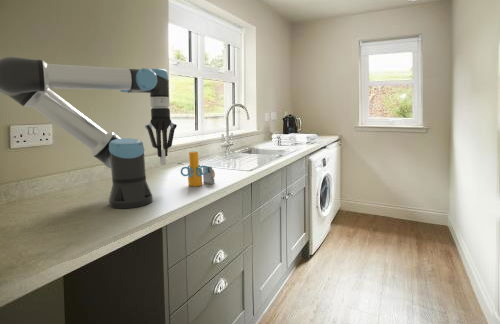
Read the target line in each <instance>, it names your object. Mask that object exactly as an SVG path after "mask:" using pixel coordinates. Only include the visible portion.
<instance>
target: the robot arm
mask: <svg viewBox="0 0 500 324" xmlns="http://www.w3.org/2000/svg"><path fill="white" fill-rule="evenodd" d="M169 82H170V81H169V73H168V70H166V69H164V68H151V69H150V68H140V69H138V68H127V67H126V68H124V67H109V66H107V67H106V66H91V65H90V66H89V65H75V64H74V65H72V64H56V63H55V64H54V63H47V62H46V61H44V60H43V59H34V58H33V59H32V58H24V57H19V56H5V57H2V58H0V93H2V94H3V95H5V96H8V97H9V98H10V99H12V100H13V101H15V102H16V103H18V104H19V105H21V106H22V107H23V108H28V107H31V108H33V109H35V110H36V111H37V113H39V114H41V115H43V116H44V117H45V118H47V119H49V121H51V122H52V123H54V124H55V125H57V126H58V127H59V128H61V129H62V130H63V131H65V132H66V133H68V134H69V135H71V136H72V137H73V138H75V139H76V140H77V141H79V142H80V143H82V145H84V146H86V147H88V148H89V150H90V151H91V156H93V157H94V158H96V159H98V161H100V162H101V163H102V164H104V166H106V167H107V168H109V169H111V178H112V179H111V181H112V186H111V189H110V194H109V198H108V203H109V204H108V205H109V207H110V208H113V209H130V208H131V209H132V208H138V207H143V206H147V205H150V204H151V203H152V202H153V200H154V199H153V194H152V191H151V189H150V186H149V185H148V181H147V175H146V174H147V173H146V163H145V162H146V161H145V147H144V142H143V141H142V140H140V139H138V138H130V137H129V138H126V137H124V138H123V137H122V138H121V137H120V136H119V135H118V134H116V133H115V132H113V131H106V130H104V129H103V128H102V127H101V126H99V125H98V124H96V123H95V122H94V121H93V120H91V119H90V118H89V117H88V116H86V115H85V114H84V113H83V112H81V111H79V110H78V109H77V108H75V107H74V105H72V104H71V103H69V102H68V101H66V100H65V99H64V98H63V97H61V96H60V95H58V94H57V93H56V92H55V91H53V90H52V89H62V90H63V89H66V90H67V89H69V90H106V91H108V90H109V91H110V90H111V91H120V92H121V93H127V94H130V93H131V94H132V93H133V94H136V93H137V94H138V93H139V94H140V93H141V94H143V93H146V94H148V93H149V96H150V97H149V98H150V99H149V100H150V107H151V109H150V114H151V115H150V116H151V117H150V118H151V119H150V121H149V123H148V124H146V125H144V128H145V129H146V131H147V132H148V135H149V140H150V143H151V146H152V148H154V149H156V150H157V157H158V158H159V164H160V165H162V166H164V165H166V157H168V149H169V148H171V147H172V146H173V140H174V135H175V130H176V129H177V127H178V126H177V124H174V123H173V122H172V119H171V113H170V112H171V111H170V110H171V109H170V108H169V107H170V89H169V85H170V83H169ZM153 128H154V129H155V135H156V138H155V135H154V131H153ZM168 129H169V131H168ZM168 132H169V133H168Z"/></svg>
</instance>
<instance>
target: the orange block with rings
mask: <svg viewBox="0 0 500 324" xmlns="http://www.w3.org/2000/svg"><path fill="white" fill-rule="evenodd" d="M188 158H189V159H188V160H189V164H188V165H187V166H183V167H181V169H180V175H182V176H183V177H187V181H188V186H189V187H200V186H202V185H203V175H205V174H207V173H208V167H207V166H205V165H206V164H202V165H200V164H199V163H200V162H199V151H197V150H194V151H192V150H191V151H189V152H188ZM203 167H205V168H206V169H207V171H206V172H205V173H203ZM185 169H186V170H187V173H186V174H185V173H183V170H185Z"/></svg>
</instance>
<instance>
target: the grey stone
mask: <svg viewBox="0 0 500 324" xmlns="http://www.w3.org/2000/svg"><path fill="white" fill-rule="evenodd" d="M204 165H205V166H207V167H208V173H207V174H205V175H202V181H203V183H205V184H208V185H210V186H211V185H214V184H215V176H216V173H215V171H214V169H213V167H212V166H211V165H207V164H204ZM206 171H207V169H206V168H205V167H202V172H203V173H205V172H206Z"/></svg>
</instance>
